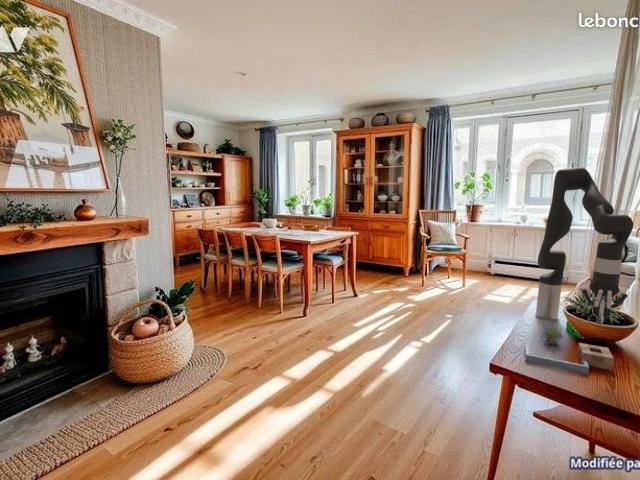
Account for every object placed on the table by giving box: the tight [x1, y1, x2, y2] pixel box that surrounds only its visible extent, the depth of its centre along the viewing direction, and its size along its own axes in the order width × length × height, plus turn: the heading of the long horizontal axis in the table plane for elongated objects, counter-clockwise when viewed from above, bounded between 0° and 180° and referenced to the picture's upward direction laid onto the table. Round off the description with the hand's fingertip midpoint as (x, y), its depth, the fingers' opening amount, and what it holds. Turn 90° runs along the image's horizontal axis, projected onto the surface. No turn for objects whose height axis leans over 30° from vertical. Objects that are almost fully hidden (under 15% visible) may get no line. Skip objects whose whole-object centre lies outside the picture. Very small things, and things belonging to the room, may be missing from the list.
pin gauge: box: [596, 296, 607, 324], centre depth 130 cm, size 3×3×11 cm
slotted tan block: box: [576, 342, 615, 371], centre depth 133 cm, size 9×9×4 cm
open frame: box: [524, 343, 590, 375], centre depth 133 cm, size 10×19×2 cm, turn 62°
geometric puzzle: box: [540, 327, 563, 347], centre depth 146 cm, size 7×7×8 cm
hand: (600, 316), depth 130 cm, fingers closed on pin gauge, 2 cm apart
